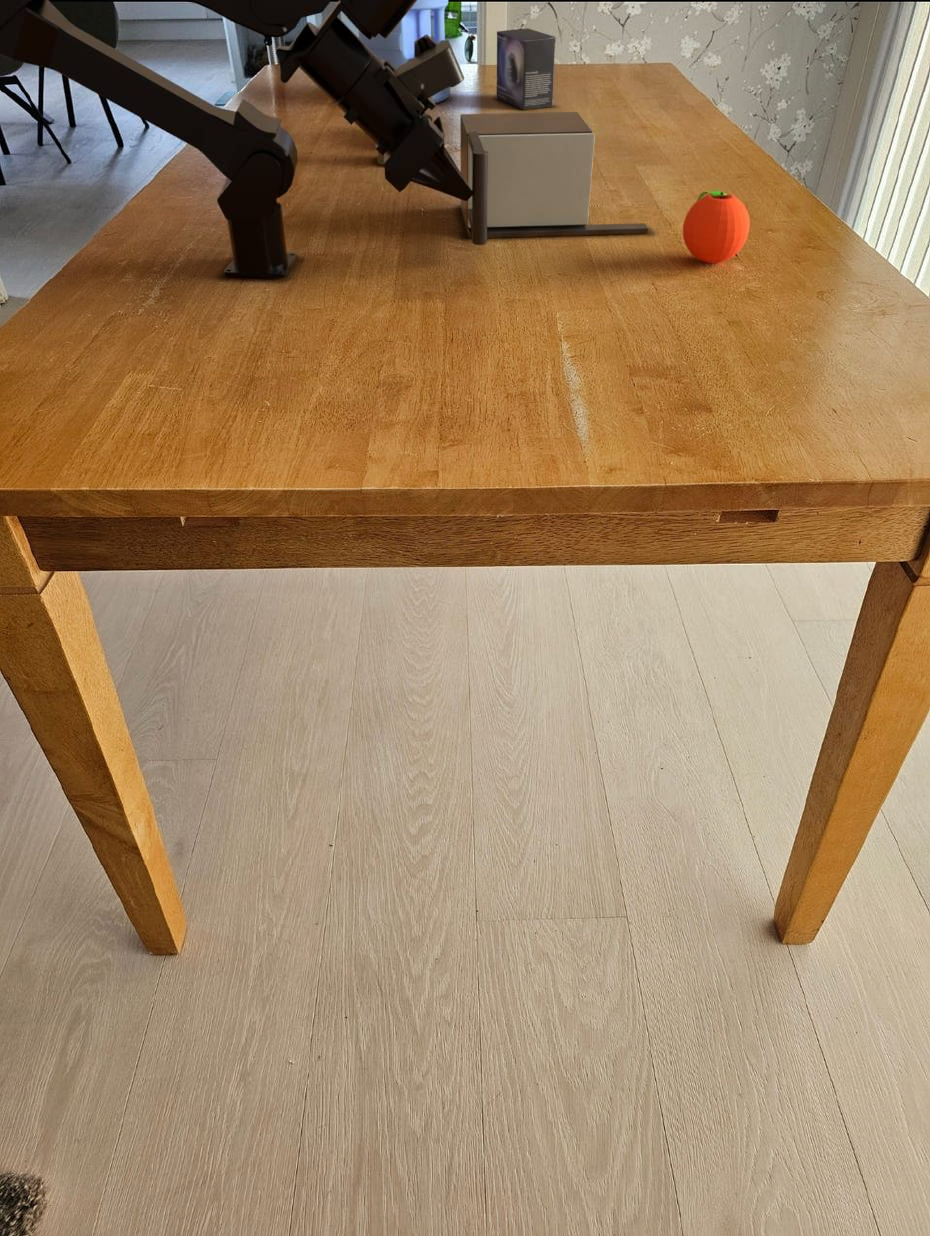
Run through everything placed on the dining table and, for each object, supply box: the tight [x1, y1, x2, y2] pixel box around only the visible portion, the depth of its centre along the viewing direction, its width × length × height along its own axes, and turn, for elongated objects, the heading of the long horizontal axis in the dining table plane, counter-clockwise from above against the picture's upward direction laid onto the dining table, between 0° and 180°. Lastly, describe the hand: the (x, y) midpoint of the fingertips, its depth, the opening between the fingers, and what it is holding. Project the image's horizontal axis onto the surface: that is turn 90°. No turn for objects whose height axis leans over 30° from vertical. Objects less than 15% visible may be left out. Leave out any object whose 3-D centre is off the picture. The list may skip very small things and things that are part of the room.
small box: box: [495, 27, 557, 110], centre depth 162 cm, size 11×6×10 cm, turn 25°
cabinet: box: [459, 111, 649, 239], centre depth 110 cm, size 21×12×10 cm, turn 94°
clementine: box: [682, 190, 751, 264], centre depth 100 cm, size 8×7×7 cm
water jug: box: [358, 0, 451, 104], centre depth 159 cm, size 16×16×28 cm
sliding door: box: [468, 132, 596, 246], centre depth 102 cm, size 14×10×10 cm
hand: (469, 196), depth 98 cm, fingers closed, pressing on sliding door
